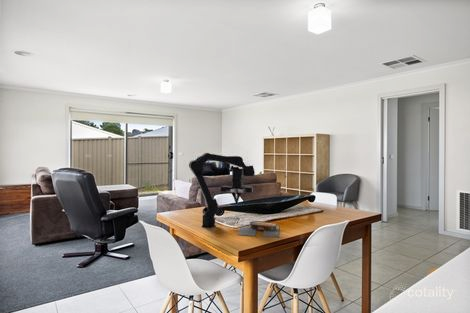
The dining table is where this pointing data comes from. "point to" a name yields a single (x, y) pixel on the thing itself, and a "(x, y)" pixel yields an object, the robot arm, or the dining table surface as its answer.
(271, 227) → the tin
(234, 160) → the robot arm
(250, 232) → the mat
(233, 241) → the dining table surface
